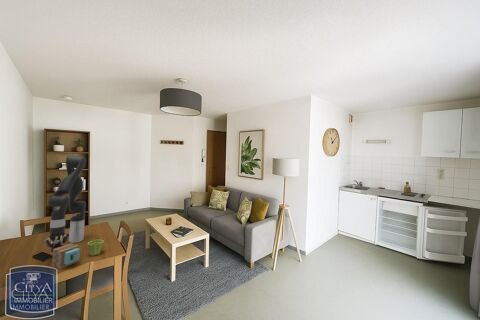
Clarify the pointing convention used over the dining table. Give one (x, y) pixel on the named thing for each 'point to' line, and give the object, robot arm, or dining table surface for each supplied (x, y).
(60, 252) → the bearing block
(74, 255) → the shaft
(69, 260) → the teal toy camera
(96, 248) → the plant pot
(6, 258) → the dining table surface
